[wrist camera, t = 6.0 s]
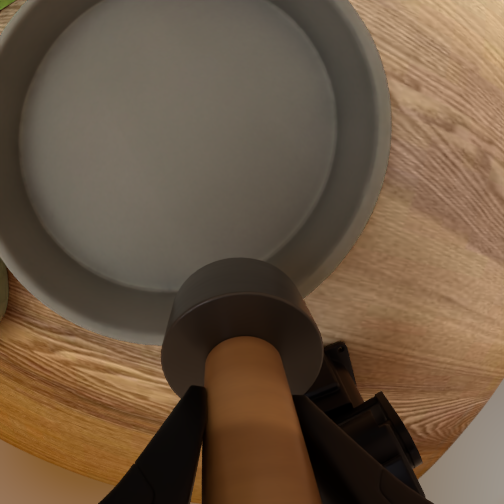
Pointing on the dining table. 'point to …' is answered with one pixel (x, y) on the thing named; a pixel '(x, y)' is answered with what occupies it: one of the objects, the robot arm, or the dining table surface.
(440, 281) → the dining table surface
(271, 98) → the cake pan
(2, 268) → the bowl
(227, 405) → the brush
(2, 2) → the bell
